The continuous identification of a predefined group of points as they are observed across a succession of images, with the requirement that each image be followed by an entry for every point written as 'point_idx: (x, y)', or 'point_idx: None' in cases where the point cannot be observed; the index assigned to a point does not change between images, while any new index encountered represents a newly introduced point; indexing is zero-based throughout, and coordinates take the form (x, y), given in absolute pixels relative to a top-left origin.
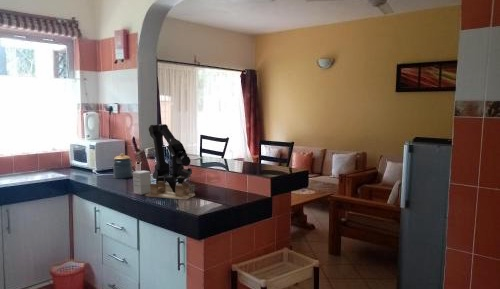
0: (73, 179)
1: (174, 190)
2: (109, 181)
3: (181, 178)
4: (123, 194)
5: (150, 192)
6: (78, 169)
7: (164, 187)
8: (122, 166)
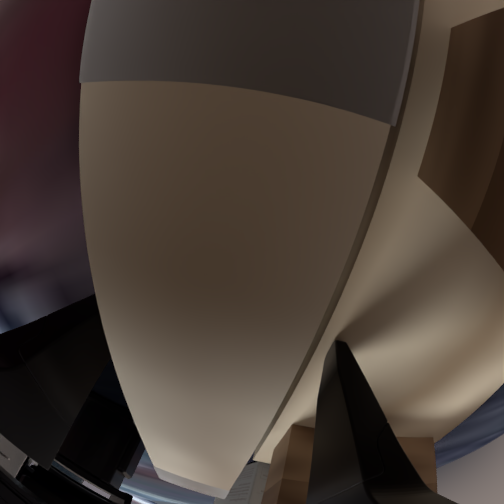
0: (148, 499)
1: (356, 373)
2: (126, 480)
3: (5, 427)
4: None
5: (266, 463)
6: None
7: (297, 474)
8: None
